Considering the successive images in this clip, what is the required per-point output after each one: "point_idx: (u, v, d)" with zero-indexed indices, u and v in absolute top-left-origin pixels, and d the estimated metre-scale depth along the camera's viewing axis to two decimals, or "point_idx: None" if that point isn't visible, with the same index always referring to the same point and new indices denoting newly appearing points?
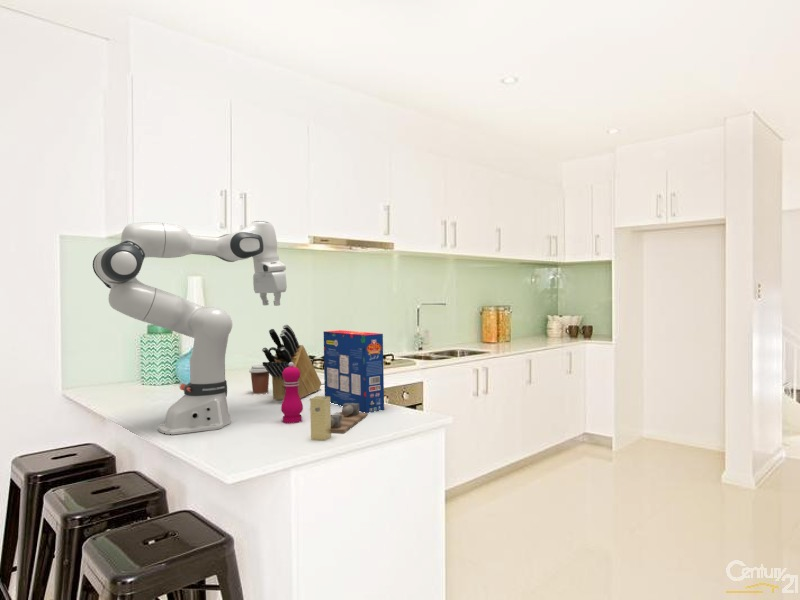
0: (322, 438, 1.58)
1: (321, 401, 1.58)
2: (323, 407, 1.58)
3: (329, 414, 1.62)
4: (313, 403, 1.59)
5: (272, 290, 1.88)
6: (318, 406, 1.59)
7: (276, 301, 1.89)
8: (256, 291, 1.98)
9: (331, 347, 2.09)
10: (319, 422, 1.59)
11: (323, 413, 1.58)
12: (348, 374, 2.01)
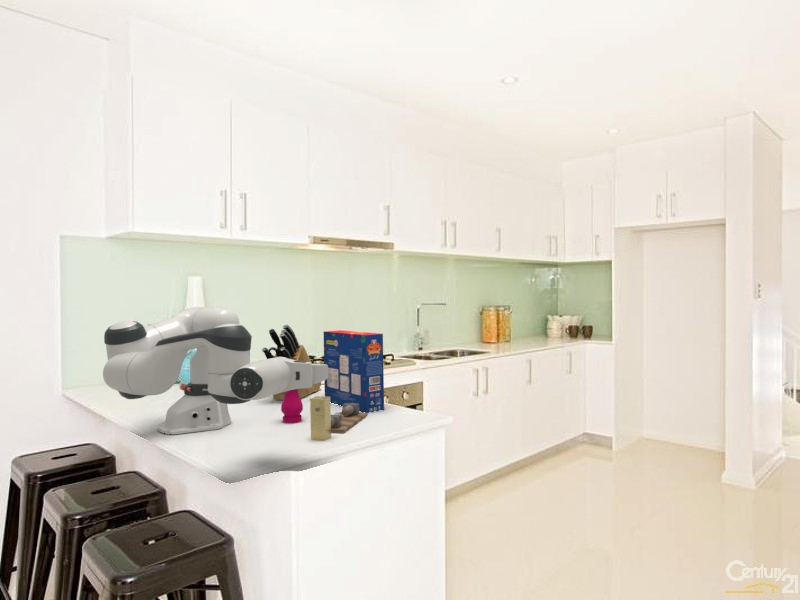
0: (322, 438, 1.58)
1: (321, 401, 1.58)
2: (323, 407, 1.58)
3: (329, 414, 1.61)
4: (313, 403, 1.59)
5: None
6: (318, 406, 1.59)
7: None
8: None
9: (331, 347, 2.09)
10: (319, 422, 1.59)
11: (323, 413, 1.58)
12: (348, 374, 2.01)
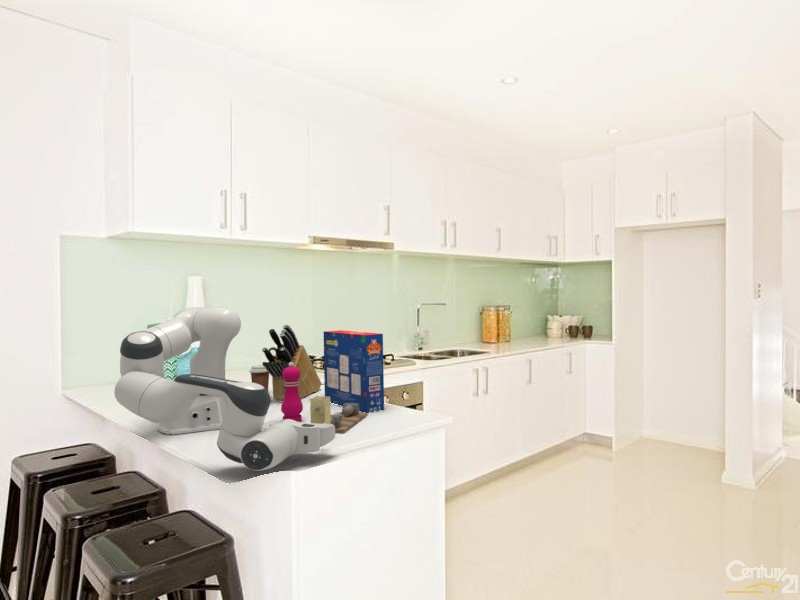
0: None
1: (321, 401, 1.58)
2: (323, 407, 1.58)
3: (329, 414, 1.61)
4: (313, 403, 1.59)
5: None
6: (318, 406, 1.59)
7: None
8: None
9: (331, 347, 2.09)
10: (319, 422, 1.59)
11: (323, 413, 1.58)
12: (348, 374, 2.01)
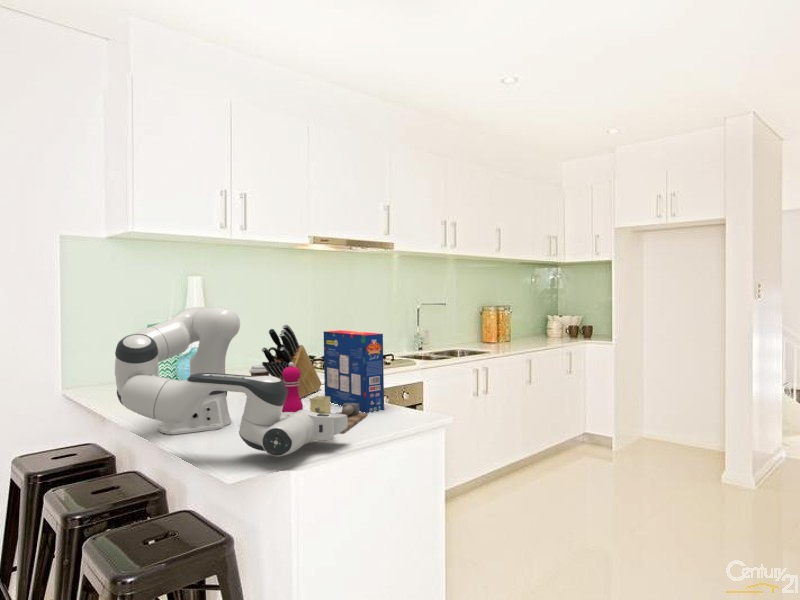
0: None
1: (321, 401, 1.58)
2: (323, 406, 1.58)
3: None
4: (313, 403, 1.59)
5: None
6: (318, 406, 1.59)
7: None
8: None
9: (331, 347, 2.09)
10: None
11: (323, 413, 1.58)
12: (348, 374, 2.01)
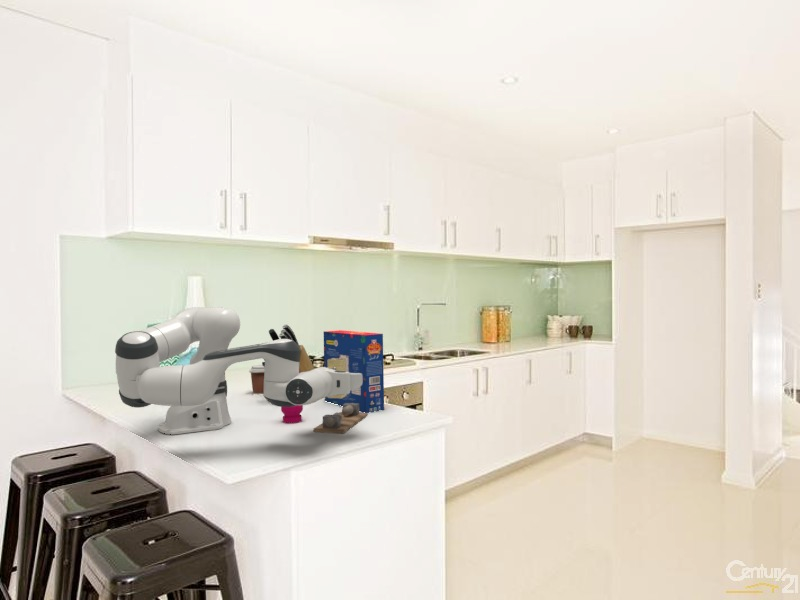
0: (338, 396, 1.69)
1: (337, 362, 1.69)
2: (339, 367, 1.69)
3: None
4: (330, 364, 1.70)
5: None
6: (335, 366, 1.69)
7: None
8: None
9: (331, 347, 2.09)
10: None
11: None
12: None
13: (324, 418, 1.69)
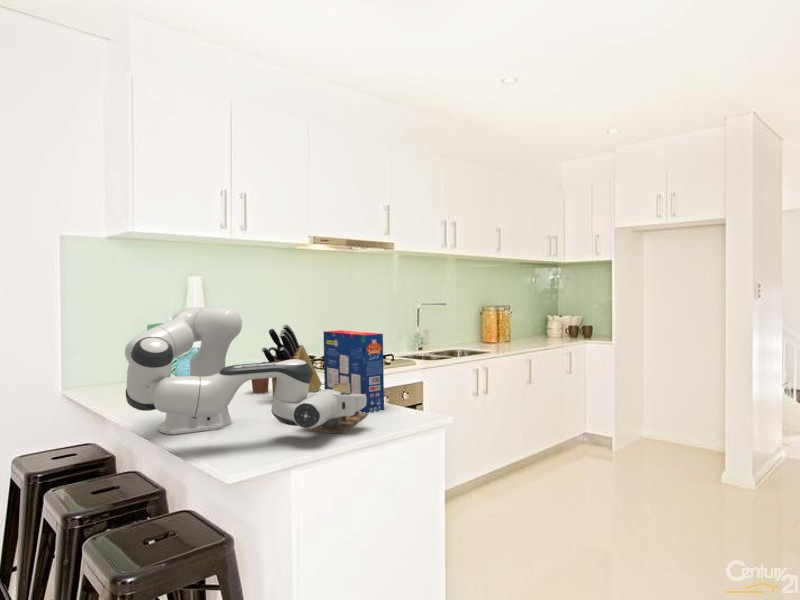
0: (343, 420, 1.76)
1: (342, 387, 1.76)
2: (344, 392, 1.76)
3: None
4: (335, 389, 1.76)
5: None
6: (339, 391, 1.76)
7: None
8: None
9: (331, 347, 2.09)
10: None
11: None
12: (348, 374, 2.01)
13: None
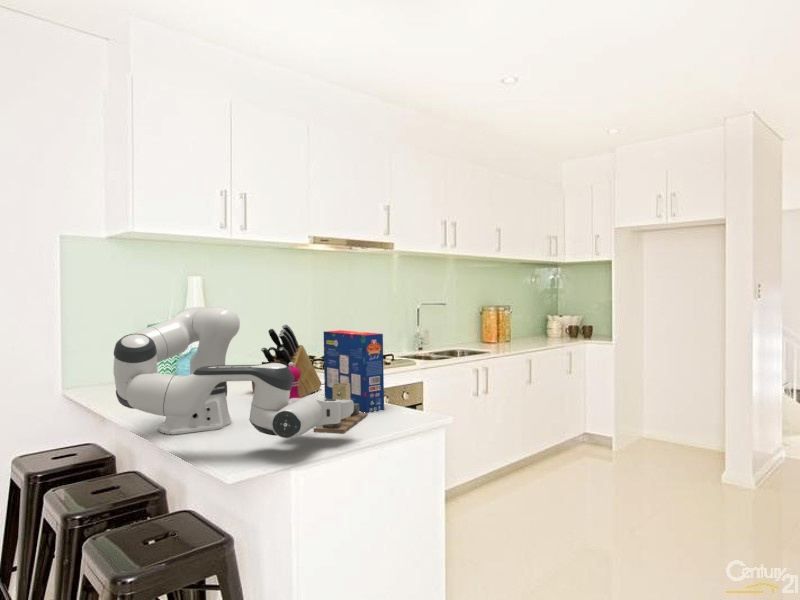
0: (343, 420, 1.76)
1: (342, 387, 1.76)
2: (344, 392, 1.76)
3: (349, 398, 1.79)
4: (335, 389, 1.76)
5: None
6: (339, 391, 1.76)
7: None
8: None
9: (331, 347, 2.09)
10: None
11: (344, 398, 1.76)
12: (348, 374, 2.01)
13: None
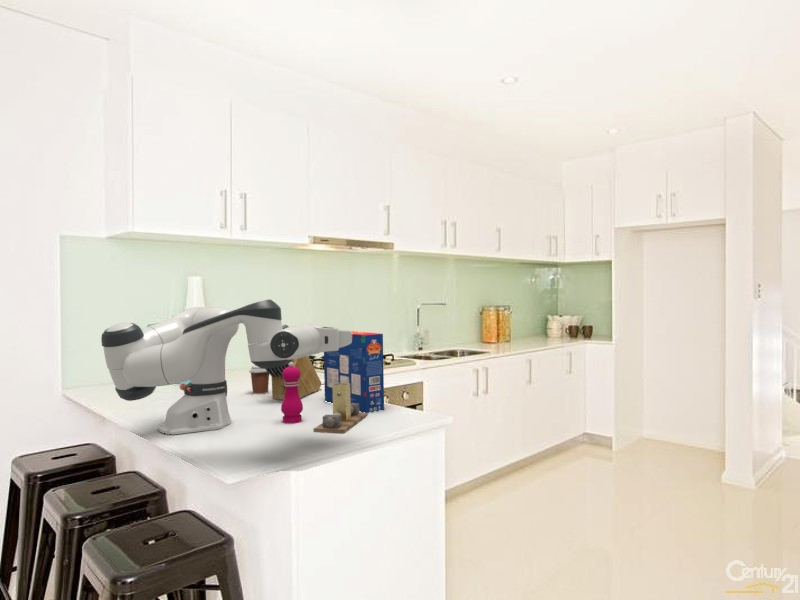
0: (343, 420, 1.76)
1: (342, 387, 1.76)
2: (344, 392, 1.76)
3: (349, 398, 1.79)
4: (335, 389, 1.76)
5: None
6: (339, 391, 1.76)
7: None
8: None
9: None
10: (340, 406, 1.76)
11: (344, 398, 1.76)
12: (348, 374, 2.01)
13: (324, 418, 1.69)
